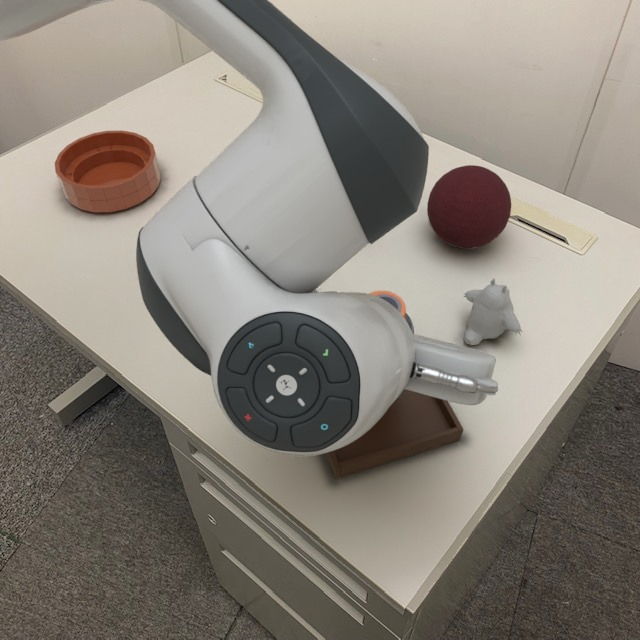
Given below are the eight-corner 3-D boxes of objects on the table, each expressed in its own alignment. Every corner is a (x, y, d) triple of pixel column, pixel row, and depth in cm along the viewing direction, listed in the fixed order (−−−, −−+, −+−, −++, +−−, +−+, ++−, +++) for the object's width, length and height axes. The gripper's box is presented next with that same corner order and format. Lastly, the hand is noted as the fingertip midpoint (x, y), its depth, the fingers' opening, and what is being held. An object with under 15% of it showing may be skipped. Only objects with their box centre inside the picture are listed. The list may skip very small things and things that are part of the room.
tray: (335, 479, 60) (335, 469, 59) (294, 373, 68) (293, 361, 67) (460, 440, 63) (463, 429, 61) (407, 342, 71) (409, 330, 70)
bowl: (68, 224, 85) (57, 196, 81) (62, 167, 93) (52, 140, 90) (168, 203, 88) (162, 175, 84) (153, 150, 96) (147, 123, 92)
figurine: (528, 340, 71) (546, 292, 65) (494, 368, 69) (509, 320, 63) (472, 300, 75) (485, 251, 69) (438, 325, 73) (448, 276, 67)
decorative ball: (452, 203, 87) (464, 138, 79) (517, 236, 82) (536, 171, 75) (407, 239, 82) (414, 175, 75) (472, 277, 78) (488, 212, 70)
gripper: (510, 348, 43) (503, 336, 56) (231, 278, 48) (286, 281, 61) (486, 438, 44) (485, 404, 57) (213, 360, 48) (271, 346, 62)
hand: (380, 340), depth 59 cm, fingers closed on pill bottle, 6 cm apart
